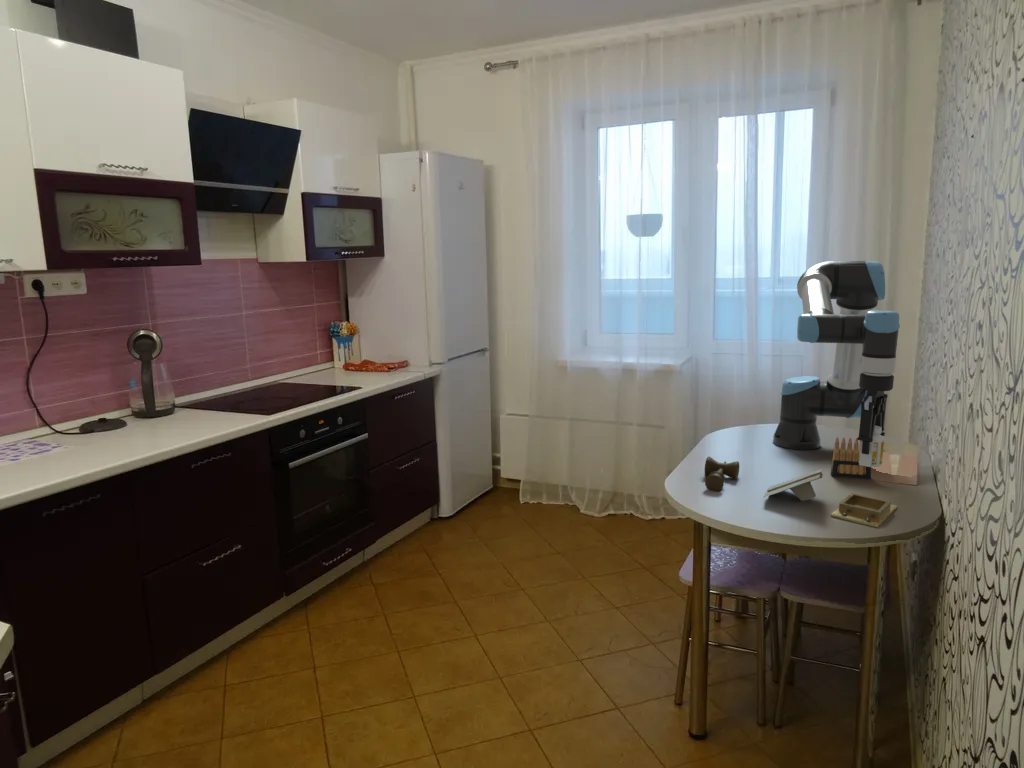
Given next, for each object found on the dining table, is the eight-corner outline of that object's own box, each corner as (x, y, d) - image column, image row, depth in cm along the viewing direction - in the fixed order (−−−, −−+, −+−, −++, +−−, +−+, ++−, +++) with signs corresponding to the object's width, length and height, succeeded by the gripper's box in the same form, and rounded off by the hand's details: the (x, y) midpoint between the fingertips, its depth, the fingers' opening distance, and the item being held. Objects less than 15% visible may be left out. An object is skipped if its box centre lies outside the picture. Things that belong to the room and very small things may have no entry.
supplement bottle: (871, 459, 180) (874, 423, 178) (886, 466, 175) (890, 428, 173) (853, 461, 179) (856, 425, 177) (868, 468, 174) (871, 430, 172)
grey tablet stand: (783, 525, 182) (833, 493, 177) (761, 497, 184) (810, 465, 179) (788, 512, 197) (834, 483, 191) (768, 487, 199) (813, 457, 194)
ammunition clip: (831, 476, 207) (834, 437, 204) (830, 474, 209) (833, 436, 206) (870, 479, 204) (874, 440, 202) (869, 477, 206) (873, 438, 203)
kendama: (695, 491, 198) (708, 468, 216) (730, 496, 194) (741, 473, 212) (697, 471, 197) (710, 450, 214) (732, 476, 193) (742, 454, 210)
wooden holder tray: (852, 498, 189) (853, 489, 189) (896, 507, 182) (897, 498, 181) (830, 516, 177) (831, 506, 177) (877, 527, 170) (878, 517, 169)
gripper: (871, 366, 181) (864, 451, 186) (848, 377, 168) (841, 468, 173) (903, 369, 176) (895, 457, 181) (882, 380, 163) (873, 474, 168)
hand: (868, 462), depth 177 cm, fingers closed on supplement bottle, 5 cm apart
